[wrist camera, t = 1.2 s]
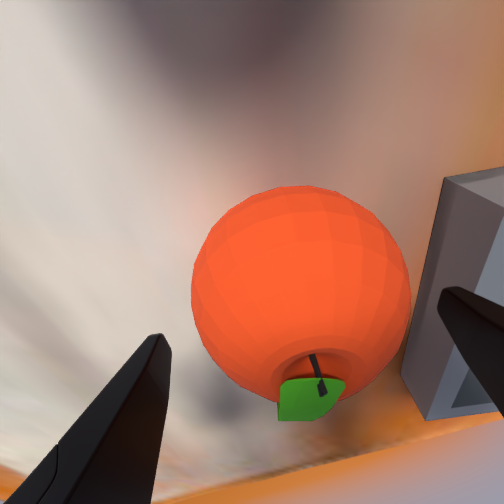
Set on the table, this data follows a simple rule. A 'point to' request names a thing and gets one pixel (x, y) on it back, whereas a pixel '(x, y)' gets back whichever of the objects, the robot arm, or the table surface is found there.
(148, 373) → the robot arm
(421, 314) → the tray
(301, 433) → the table surface
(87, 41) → the table surface
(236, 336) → the clementine
